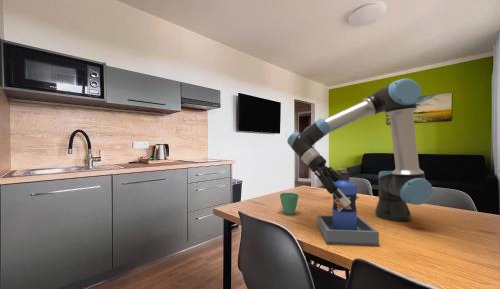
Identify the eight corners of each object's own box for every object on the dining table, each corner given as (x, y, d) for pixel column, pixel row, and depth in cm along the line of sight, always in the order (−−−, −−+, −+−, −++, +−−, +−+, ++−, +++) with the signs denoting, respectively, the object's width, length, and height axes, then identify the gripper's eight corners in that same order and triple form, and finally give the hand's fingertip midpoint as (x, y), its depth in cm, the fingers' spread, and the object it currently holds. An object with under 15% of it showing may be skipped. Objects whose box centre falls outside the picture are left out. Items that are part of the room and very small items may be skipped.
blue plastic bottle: (355, 238, 83) (355, 171, 83) (330, 233, 87) (329, 169, 88) (358, 230, 90) (357, 168, 91) (334, 225, 95) (334, 167, 96)
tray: (359, 227, 97) (359, 216, 97) (379, 246, 79) (378, 232, 79) (317, 226, 99) (317, 215, 99) (327, 244, 81) (326, 230, 81)
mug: (301, 215, 115) (301, 196, 115) (284, 216, 113) (283, 197, 113) (290, 207, 129) (290, 190, 129) (274, 209, 127) (274, 191, 127)
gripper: (319, 164, 108) (354, 202, 97) (296, 168, 91) (335, 214, 80) (329, 153, 104) (367, 191, 94) (307, 155, 87) (350, 201, 77)
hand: (352, 202), depth 87 cm, fingers open, 9 cm apart
